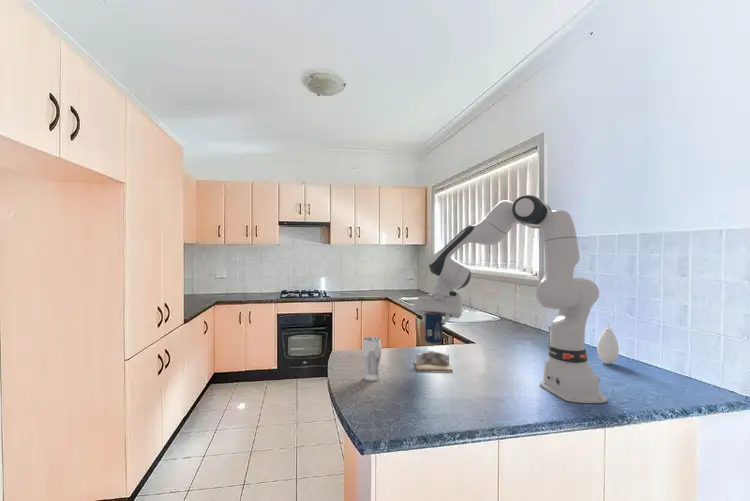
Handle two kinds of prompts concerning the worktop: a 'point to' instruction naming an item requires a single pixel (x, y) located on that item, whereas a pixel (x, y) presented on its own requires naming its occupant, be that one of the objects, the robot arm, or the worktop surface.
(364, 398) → the worktop surface
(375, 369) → the beer glass
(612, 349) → the white tall egg shape
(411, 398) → the worktop surface
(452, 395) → the worktop surface
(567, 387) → the robot arm
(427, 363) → the napkin holder
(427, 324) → the soda can
